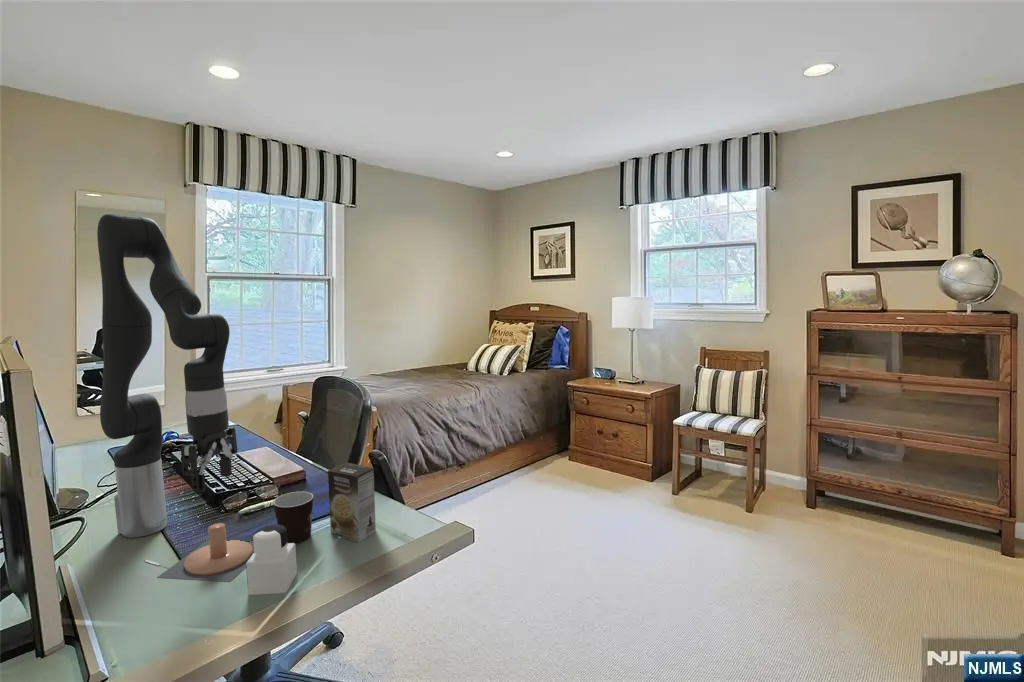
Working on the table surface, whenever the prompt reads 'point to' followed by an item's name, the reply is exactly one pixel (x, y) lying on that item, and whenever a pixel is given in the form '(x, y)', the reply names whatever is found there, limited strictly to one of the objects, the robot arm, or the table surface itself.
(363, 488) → the coffee box
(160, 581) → the table surface
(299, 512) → the coffee mug
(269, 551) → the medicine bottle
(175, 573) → the mat
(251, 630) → the table surface
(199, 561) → the terracotta lid
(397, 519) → the table surface
